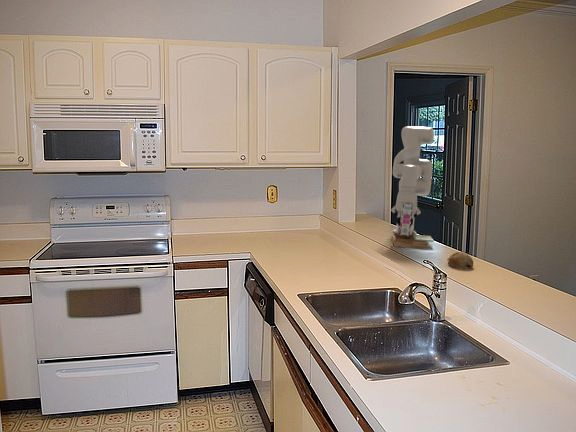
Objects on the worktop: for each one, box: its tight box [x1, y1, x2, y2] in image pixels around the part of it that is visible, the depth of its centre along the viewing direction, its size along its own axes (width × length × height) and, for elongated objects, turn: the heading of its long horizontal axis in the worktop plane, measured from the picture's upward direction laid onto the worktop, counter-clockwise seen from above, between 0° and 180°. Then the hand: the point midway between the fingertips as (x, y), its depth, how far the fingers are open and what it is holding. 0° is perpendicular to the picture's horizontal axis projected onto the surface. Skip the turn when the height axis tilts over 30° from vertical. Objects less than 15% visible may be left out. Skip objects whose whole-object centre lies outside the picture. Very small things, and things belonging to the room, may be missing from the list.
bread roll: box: [447, 251, 474, 270], centre depth 229 cm, size 10×10×8 cm
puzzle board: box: [391, 233, 429, 250], centre depth 274 cm, size 18×16×4 cm
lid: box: [412, 229, 435, 243], centre depth 273 cm, size 14×10×3 cm
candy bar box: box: [397, 203, 413, 236], centre depth 273 cm, size 11×5×16 cm, turn 174°
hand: (404, 225), depth 273 cm, fingers closed on candy bar box, 5 cm apart
